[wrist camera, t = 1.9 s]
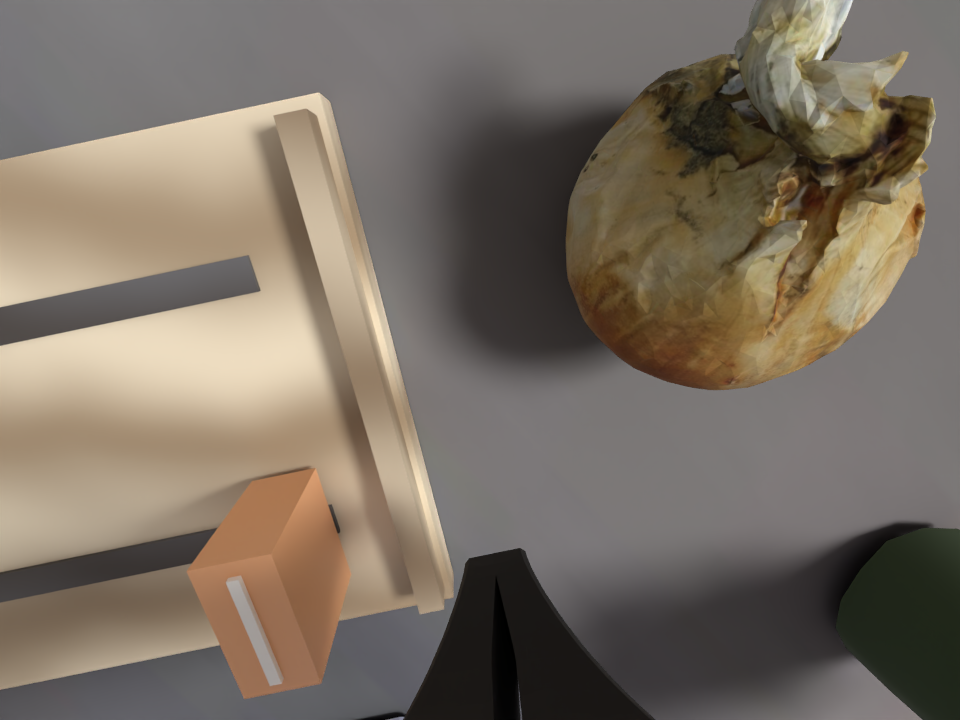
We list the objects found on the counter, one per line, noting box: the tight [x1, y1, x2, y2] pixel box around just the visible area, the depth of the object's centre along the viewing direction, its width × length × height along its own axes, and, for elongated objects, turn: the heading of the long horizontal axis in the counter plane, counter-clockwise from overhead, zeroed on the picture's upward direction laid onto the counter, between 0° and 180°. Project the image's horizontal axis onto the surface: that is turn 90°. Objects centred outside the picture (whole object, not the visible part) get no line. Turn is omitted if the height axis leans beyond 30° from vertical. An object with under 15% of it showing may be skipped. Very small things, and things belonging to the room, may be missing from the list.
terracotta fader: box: [187, 468, 351, 699], centre depth 14 cm, size 4×2×4 cm, turn 11°
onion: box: [566, 0, 936, 390], centre depth 12 cm, size 8×8×8 cm
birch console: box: [0, 93, 453, 690], centre depth 15 cm, size 16×22×2 cm
